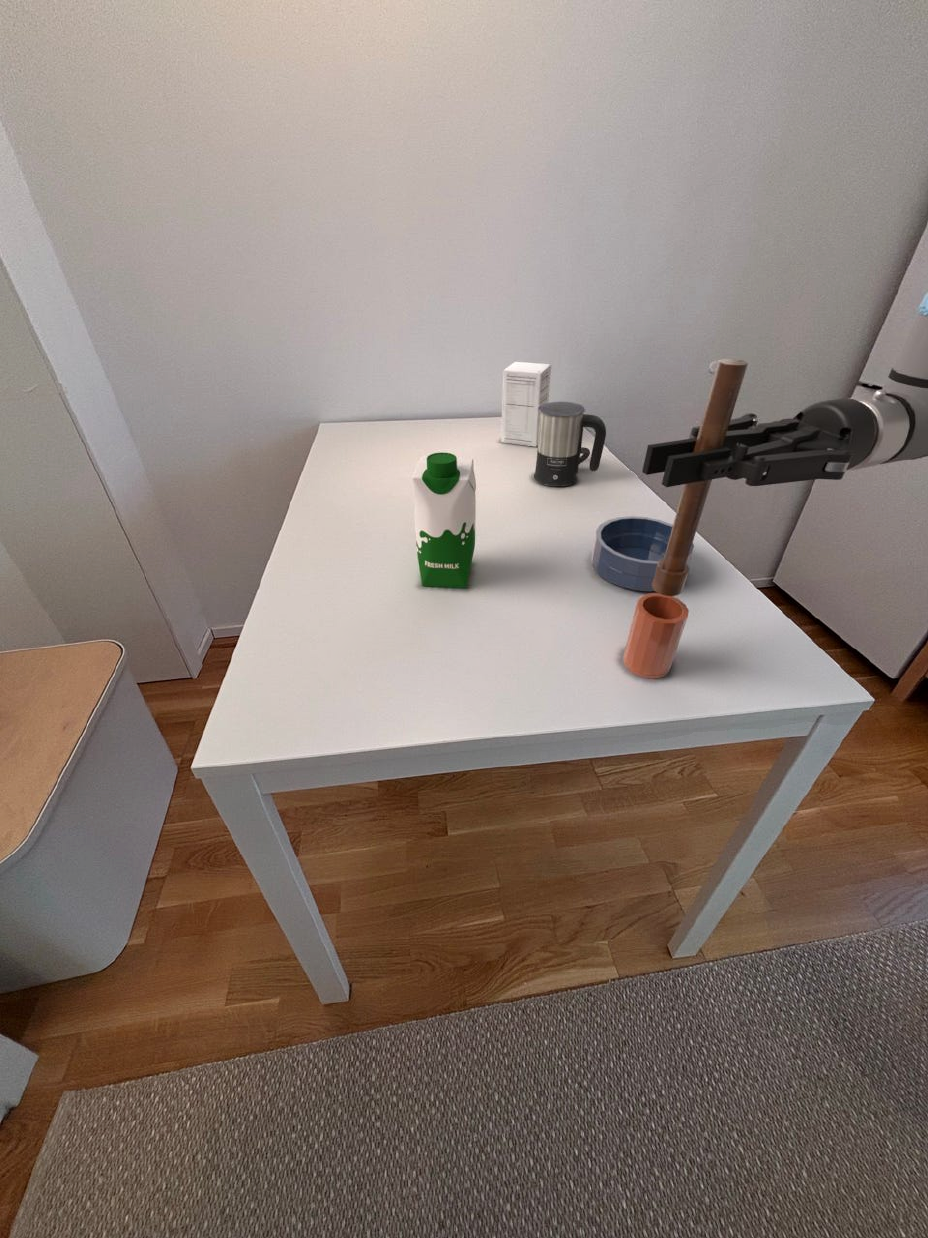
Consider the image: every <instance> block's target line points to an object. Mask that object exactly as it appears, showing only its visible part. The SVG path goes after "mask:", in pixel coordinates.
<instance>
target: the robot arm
mask: <svg viewBox="0 0 928 1238" xmlns="http://www.w3.org/2000/svg"><path fill="white" fill-rule="evenodd" d="M890 369H891V370H890V372H889V373H888V376H887V378H886V380H885V382H884V383H883V386H882V388H881V389H877V390H876V391H875V392H874V393H873V394H870V395H861V396H854V397H847V398H846V397H845V398H835V399H828V400H822V401H817V402H814V403H812V404H809V405H807V406H805V407H804V408H803V409H802V410H801V411H799V412H798V413H797V414H796V415H794V416H793V417H791V418H782V419H780V420H773V421H771V422H761V423H759V419H758V415H757V414H756V413H752V412H750V413H745V414H743V415H742V416H740V417H737V418H733V419H732V418H731V420H730V423H729V427H728V430H727V433H726V436H725V440H724V443H723V446H722V448H719V449H711V450H705V451H699V452H693V451H694V447H695V444H696V440H697V436H698V433H699V429H700V426H701V425H698V426H694V427H691V430H690V433H689V437H688V438H686V439H680V440H673V441H665V442H659V443H653V444H651V443H650V444H647V448H646V451H645V457H644V461H643V466H642V470H641V471H642V472H641V473H643V474H644V475H645V476H648V475H653V474H659V473H663V477H662V481H661V485H662V486H663V487H665V488H671V487H676V486H677V487H678V486H682V485H683V486H684V484H688V483H694V482H700V481H705V480H712V481H713V480H717V479H723V478H727V479H729V480H732V481H733V480H734V481H738V480H741V479H745V482H744V484H746V485H747V486H748V487H761V486H770V485H778V484H788V483H796V482H805V481H814V480H829V481H831V480H833V481H841V480H842V479H843V477H844V475H845V473H846V472H848V471H849V472H850V471H856V470H861V469H865V468H870V467H876V466H878V465H885V464H890V463H897V462H902V461H914V460H918V459H922V458H926V457H928V291H927V292H926V293H925V295H924V297H923V299H922V301H921V302H920V304H919V305H918V308H917V313H916V316H915V318H914V320H913V323H912V325H911V327H910V329H909V332H908V334H907V336H906V339H905V341H904V343H903V345H902V347H901V350H900V351H899V354H898V357H897V359H896V361H895V363H894V366H893V367H892V368H890Z"/></svg>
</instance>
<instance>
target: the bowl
mask: <svg viewBox="0 0 928 1238" xmlns="http://www.w3.org/2000/svg"><path fill="white" fill-rule="evenodd" d="M672 527H673V524H672V523H670V522H666V521H663V520H661V519H658V518H652V517H647V516H637V515H636V516H635V515H632V516H630V515H629V516H619V517H615V518H612V519H608V520H606V521H605V522H602V523H601V524H599V526H598V527H597V529H596V530H595V533H594V540H593V545H592V546H593V547H592V552H591V557H590V558H591V566H592V567H593V569H594V571H595V572H596V573H597V574H598V575H599V576H601V577H602V578H603V579H604V580H606V581H608V582H610V583H612V584H614V585H616V586H618V587H622V588H626V589H629V590H633V591H642V592H656V591H655V590H654V589H653V587H652V582H653V579H654V575H655V571H656V568H657V564H658V562H659V561H660V560H662V559H664V556H665V552H666V549H667V545H668V541H669V538H670V534H671V531H672ZM694 548H695V543H694V542H693V543H692V546H691V549H690V553H689V556H688V559H687V562H686V564H687V565H688V566H689V564H690V561H691V557H692V554H693V551H694Z"/></svg>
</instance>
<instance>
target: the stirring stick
mask: <svg viewBox="0 0 928 1238" xmlns="http://www.w3.org/2000/svg"><path fill="white" fill-rule="evenodd" d="M748 366H749V362H748V361H746V360H741V359H736V358H722V359H718V361H717V364H716V368H715V372H714V375H713V379H712V383H711V387H710V390H709V393H708V397H707V401H706V404H705V408H704V411H703V415H702V419H701V423H700V425H699V426H700V429H699V433H698V436H697V440H696V444H695V447H694V451H693V452H699V451H705V450H711V449H719V448H722V446H723V443H724V440H725V436H726V433H727V430H728V427H729V423H730V420H731V419H732V418H733V414H734V411H735V407H736V404H737V401H738V397H739V394H740V391H741V388H742V385H743V381H744V379H745V375H746V371H747V369H748ZM712 481H713V479H712V480H705V481H700V482H694V483H688V484H683V488H682V491H681V496H680V498H679V503H678V506H677V510H676V512H675V516H674V520H673V524H672V525H673V527H672V531H671V534H670V538H669V541H668V545H667V549H666V552H665V556H664V559H662V560H660V561H659V562H658V564H657V568H656V571H655V575H654V579H653V582H652V587H653V589H654V590H655V591H654V592H655V593H660V594H662V595H666V596H673V597H677V596H680V595H681V594H682V593H683V591H684V588H685V584H686V581H687V578H688V574H689V572H690V567H689V564H688V565H687V564H686V562H687V559H688V556H689V553H690V549H691V546H692V543H693V544H694V539H695V536H696V533H697V530H698V526H699V523H700V520H701V517H702V514H703V510H704V507H705V505H706V504H705V503H706V501H707V497H708V494H709V491H710V488H711V485H712Z"/></svg>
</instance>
